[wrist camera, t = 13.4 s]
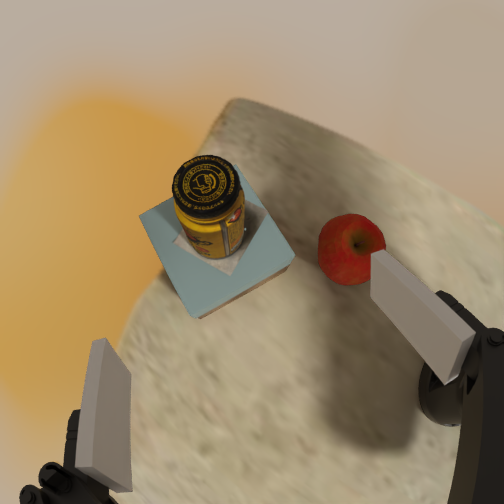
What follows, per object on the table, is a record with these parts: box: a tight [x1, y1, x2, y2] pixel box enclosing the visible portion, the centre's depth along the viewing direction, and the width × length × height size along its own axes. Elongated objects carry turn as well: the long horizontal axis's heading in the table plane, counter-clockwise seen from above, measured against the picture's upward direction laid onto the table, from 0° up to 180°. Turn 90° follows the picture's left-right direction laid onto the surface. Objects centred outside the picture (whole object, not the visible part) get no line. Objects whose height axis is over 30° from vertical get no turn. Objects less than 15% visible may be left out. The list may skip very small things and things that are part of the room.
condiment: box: [172, 155, 269, 276], centre depth 29 cm, size 7×8×12 cm
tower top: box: [139, 165, 295, 318], centre depth 36 cm, size 13×13×4 cm
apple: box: [318, 214, 386, 285], centre depth 37 cm, size 9×8×11 cm
